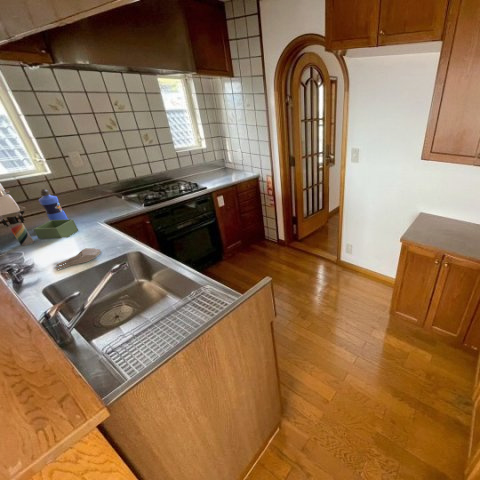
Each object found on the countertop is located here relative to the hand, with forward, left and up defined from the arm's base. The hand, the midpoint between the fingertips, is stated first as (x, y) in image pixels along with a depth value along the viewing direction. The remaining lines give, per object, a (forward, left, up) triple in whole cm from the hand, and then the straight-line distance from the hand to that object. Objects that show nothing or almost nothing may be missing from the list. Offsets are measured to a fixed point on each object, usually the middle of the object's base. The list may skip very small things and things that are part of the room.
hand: (15, 223), depth 152 cm
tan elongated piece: (-13, -48, -15) cm, 52 cm away
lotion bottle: (0, 0, -15) cm, 15 cm away
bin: (+14, -6, -15) cm, 21 cm away
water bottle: (+32, +13, -15) cm, 38 cm away
